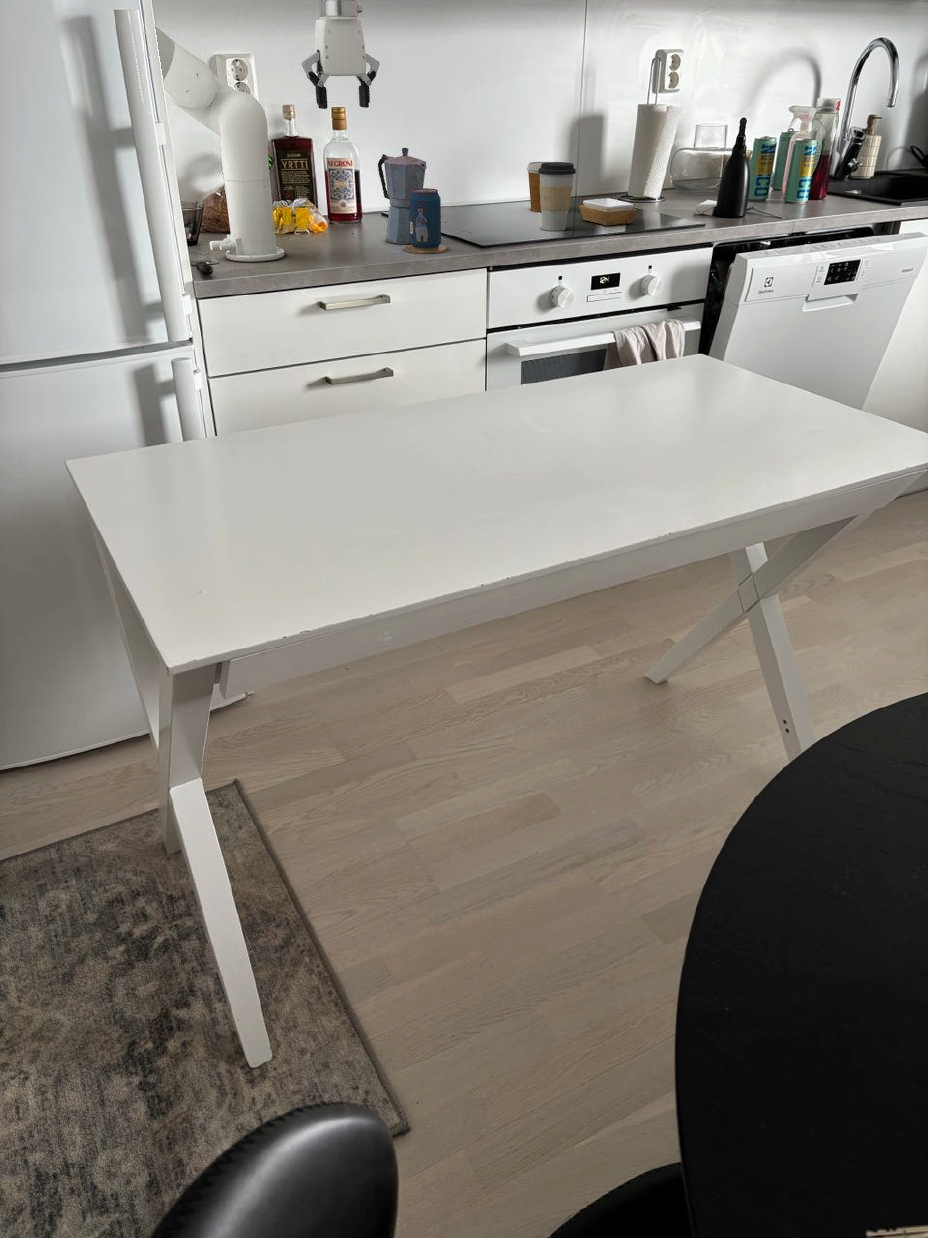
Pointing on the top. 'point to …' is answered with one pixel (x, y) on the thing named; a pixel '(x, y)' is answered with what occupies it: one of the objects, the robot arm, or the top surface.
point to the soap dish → (607, 211)
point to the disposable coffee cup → (534, 185)
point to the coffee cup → (555, 194)
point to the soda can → (425, 219)
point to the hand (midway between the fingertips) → (343, 107)
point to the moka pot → (400, 192)
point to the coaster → (438, 250)
